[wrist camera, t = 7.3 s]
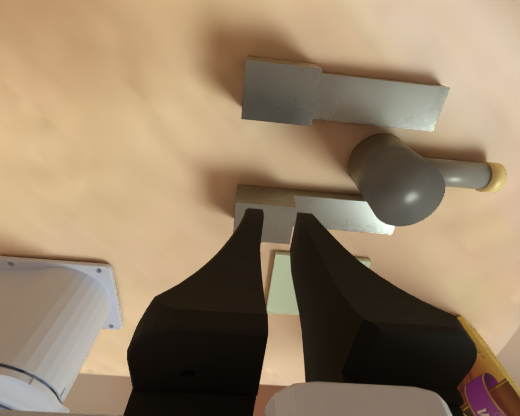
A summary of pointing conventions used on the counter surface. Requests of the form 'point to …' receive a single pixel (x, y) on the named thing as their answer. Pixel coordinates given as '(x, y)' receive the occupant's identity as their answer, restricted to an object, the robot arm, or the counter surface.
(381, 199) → the grey tapered rounded piece
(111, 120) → the counter surface
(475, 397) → the candy box
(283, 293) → the plate
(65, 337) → the robot arm
